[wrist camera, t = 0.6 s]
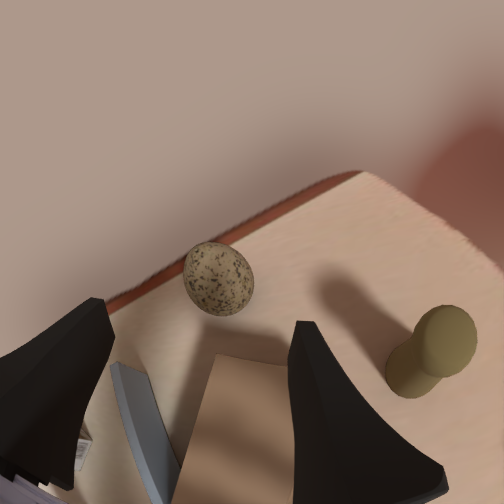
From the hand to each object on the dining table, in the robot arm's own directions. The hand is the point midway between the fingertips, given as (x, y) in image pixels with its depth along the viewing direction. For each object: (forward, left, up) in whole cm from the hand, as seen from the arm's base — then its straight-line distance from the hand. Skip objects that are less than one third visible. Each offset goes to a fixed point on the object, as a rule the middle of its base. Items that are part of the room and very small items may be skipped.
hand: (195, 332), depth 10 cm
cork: (+4, -12, -20) cm, 24 cm away
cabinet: (-6, +1, -20) cm, 20 cm away
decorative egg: (+10, +9, -20) cm, 24 cm away
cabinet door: (-9, +12, -19) cm, 24 cm away
